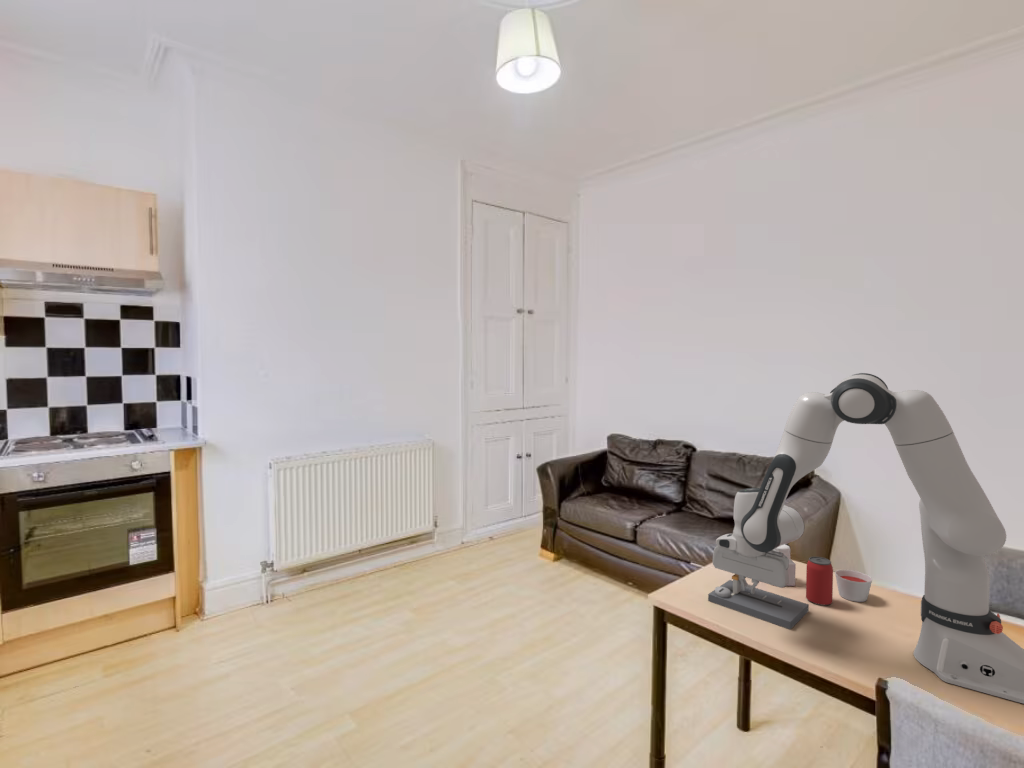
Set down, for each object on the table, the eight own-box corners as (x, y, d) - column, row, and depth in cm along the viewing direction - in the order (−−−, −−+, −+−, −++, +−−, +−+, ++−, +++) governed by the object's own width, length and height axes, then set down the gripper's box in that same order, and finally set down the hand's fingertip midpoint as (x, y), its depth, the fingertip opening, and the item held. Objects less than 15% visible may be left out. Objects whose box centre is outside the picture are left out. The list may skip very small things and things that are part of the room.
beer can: (825, 596, 151) (826, 556, 151) (837, 606, 145) (838, 564, 144) (801, 595, 152) (802, 555, 151) (812, 605, 145) (813, 564, 145)
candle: (829, 589, 156) (829, 568, 156) (861, 591, 154) (862, 570, 154) (843, 603, 147) (844, 581, 147) (878, 605, 145) (878, 583, 145)
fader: (742, 590, 150) (742, 574, 150) (737, 594, 148) (737, 577, 147) (737, 588, 151) (737, 572, 151) (731, 592, 149) (731, 576, 148)
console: (808, 611, 142) (808, 598, 142) (790, 629, 132) (790, 615, 132) (729, 586, 158) (729, 574, 158) (708, 600, 148) (708, 588, 148)
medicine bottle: (763, 575, 166) (763, 539, 165) (786, 576, 165) (787, 539, 164) (770, 585, 159) (771, 546, 158) (795, 586, 158) (796, 548, 157)
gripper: (793, 551, 141) (792, 600, 141) (720, 533, 156) (719, 578, 156) (784, 557, 136) (783, 608, 137) (710, 538, 151) (709, 584, 152)
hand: (748, 592), depth 147 cm, fingers closed
